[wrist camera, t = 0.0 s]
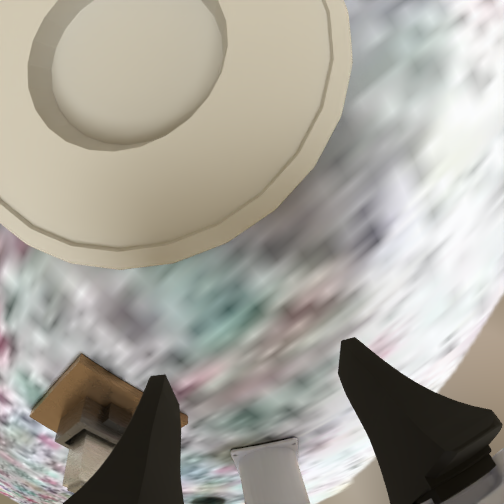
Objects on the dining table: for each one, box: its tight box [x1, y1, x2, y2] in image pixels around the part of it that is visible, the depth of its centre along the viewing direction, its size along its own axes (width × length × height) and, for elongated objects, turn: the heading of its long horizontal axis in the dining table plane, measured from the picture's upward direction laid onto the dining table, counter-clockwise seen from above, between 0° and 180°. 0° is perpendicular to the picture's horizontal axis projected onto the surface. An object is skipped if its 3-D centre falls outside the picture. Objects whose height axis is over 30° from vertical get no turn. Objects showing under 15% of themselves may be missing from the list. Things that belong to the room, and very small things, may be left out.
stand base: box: [30, 354, 188, 449], centre depth 24 cm, size 14×12×4 cm
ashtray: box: [0, 0, 353, 270], centre depth 13 cm, size 23×23×4 cm
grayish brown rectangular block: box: [63, 429, 116, 493], centre depth 21 cm, size 4×4×8 cm
